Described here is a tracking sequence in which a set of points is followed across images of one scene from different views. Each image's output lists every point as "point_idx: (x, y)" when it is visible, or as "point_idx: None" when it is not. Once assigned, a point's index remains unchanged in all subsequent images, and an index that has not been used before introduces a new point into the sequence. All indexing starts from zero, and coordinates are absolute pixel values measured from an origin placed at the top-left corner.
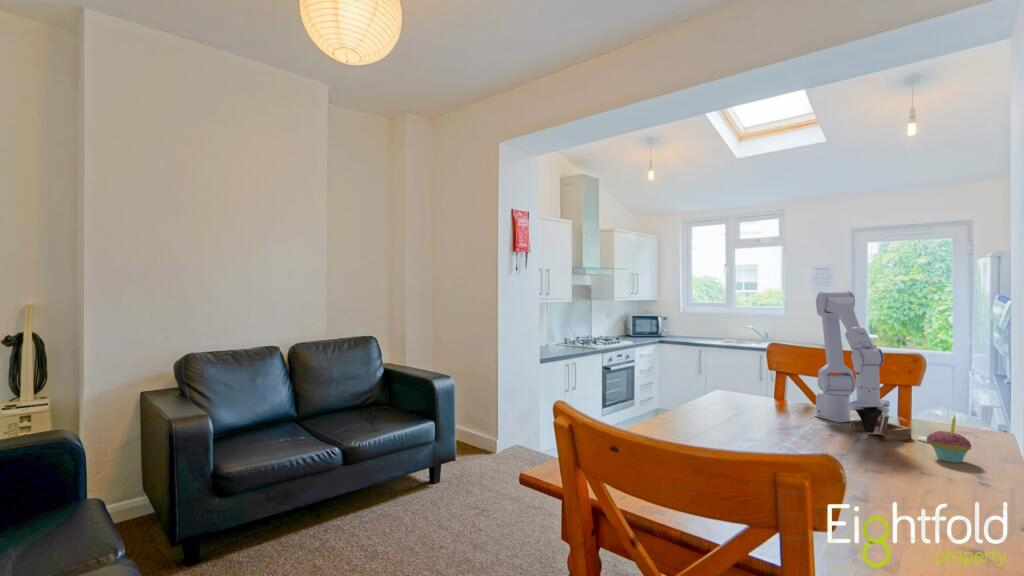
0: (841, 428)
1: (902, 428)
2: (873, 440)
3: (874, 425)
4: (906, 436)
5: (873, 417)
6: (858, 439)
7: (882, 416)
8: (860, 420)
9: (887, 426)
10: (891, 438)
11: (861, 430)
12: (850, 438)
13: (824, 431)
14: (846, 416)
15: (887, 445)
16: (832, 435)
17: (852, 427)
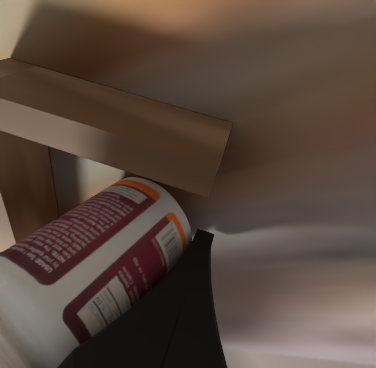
0: None
1: (6, 121)
2: (285, 191)
3: (182, 267)
4: (38, 75)
5: (196, 350)
6: (340, 250)
7: (72, 301)
8: None
9: (24, 208)
10: (191, 121)
11: None
12: (353, 279)
13: (302, 354)
14: None
15: (368, 84)
16: (359, 335)
17: None
